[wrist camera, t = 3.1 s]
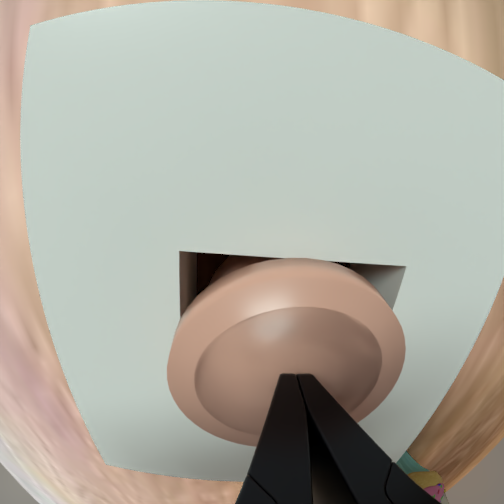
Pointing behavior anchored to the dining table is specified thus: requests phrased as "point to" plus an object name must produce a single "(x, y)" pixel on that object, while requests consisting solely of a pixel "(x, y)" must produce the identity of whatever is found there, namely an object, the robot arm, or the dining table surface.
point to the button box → (250, 197)
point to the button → (281, 342)
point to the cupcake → (422, 476)
